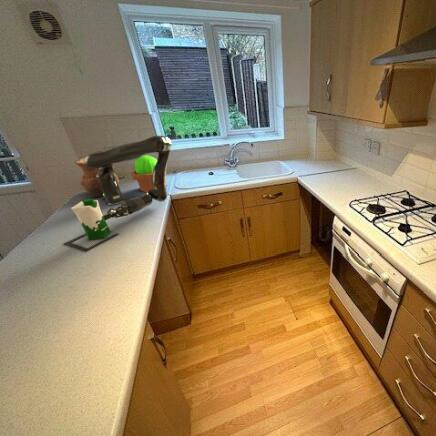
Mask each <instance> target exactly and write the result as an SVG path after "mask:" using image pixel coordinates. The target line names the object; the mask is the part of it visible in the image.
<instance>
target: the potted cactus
mask: <svg viewBox="0 0 436 436" xmlns="http://www.w3.org/2000/svg"><path fill="white" fill-rule="evenodd" d="M156 162H157V158H155V157H153V156H152V155H149V154H146V155H142V156H141V157H139V158H136V159H135V162H134V167H133V168H134V170H133V171H131V172H130V175H131V178H132V180H134V181H137V184H138V186H139V189H140V191H141V192H144V193H146V192H147V191H148V190H150V189H153V188H156V187H155V186H154V185H153V184H152V174H153V169H154V167H155V164H156ZM166 174H167V171H166ZM165 186H166V187H167V186H168V185H167V181H166V180H165Z"/></svg>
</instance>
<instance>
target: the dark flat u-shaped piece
mask: <svg viewBox="0 0 436 436" xmlns="http://www.w3.org/2000/svg"><path fill="white" fill-rule="evenodd" d="M118 235H119V234H118V233H114V234H112V235H110V236H108V237H107V238H104V239H102V240H101V241H99V242H97V243H95V244H93V245H91V246H89V247H87V248H86V247H84V246H81V245H78V244H75V243H73V242H75V241H77V240H79V239H81V238H84V237H85V236H86V237H87V235H86V233H84V234H82V235H80V236H77V237H75V238H73V239H70V240H69V241H67V242H64V243H63V244H64V245H66V246H68V247H71V248H74V249H77V250H80V251H83V252H88V251H90V250H92V249H94V248H95V247H97V246H99V245H101V244H103V243H105V242H107V241H109V240H110V239H113V238H115V237H117V236H118Z"/></svg>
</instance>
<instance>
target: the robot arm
mask: <svg viewBox="0 0 436 436" xmlns="http://www.w3.org/2000/svg"><path fill="white" fill-rule="evenodd" d="M171 150H172V141H171V139H170V138H169V137H167V136H166V135H153V136H152V135H151V136H150V137H148V138H145V139H143V140H139V141H134V142H128V143H124V144H120V145H117V146H114V147H111V148H109V149H106V150H105V151H103V150H96V151H92V152H90V153H88V154H87V155H85V157H84V158H85V163H86V164H87V165H88V166H89V167H91V168H95V169H98V172H97V174H96V178H97V180H98V182H99V184H100V187H101V189H102V192H103V195H102V196H91V197H89V198H93V199H98V198H102V200H103V201H106V203H107V205H108V206H114V205H115V206H116V205H119V204H121V205H120V206H117V207H115V208H114V207H110V208H109V209H108V210H107V211H106V213H105V214H103V217H104V219H105V221H107V220H109V219H111V218H112V219H114V218H115V219H117V218H121V217H128V216H129V215H133V214H134V213H137V212H139V211H141V210H143V209H144V208H147V207H149V206H151V205H152V204H153V203H154V201H157V202H160V203H162V202H165V201H166V200H167V198H168V191H167V185H166V186H165V181H166V175H167V173H166V172H167V166H168V162H169V159H170V158H169V157H170V154H171ZM154 153H157V158H156V160H157V162H156V164H155V167H154V169H153V174H152V184H153V185H154V186H155V187H156V188H153V189H150V190H148V191H147V192H144V193H143V194H141V195H139V196H136V197H133V198H130V199H128V200H125V198H124V196H123V194H122V191H121V188H120V186H119V184H118V183H117V181H116V178H115V176H114V174H115V168H114V169H113V166H112V163H113V164H118V163H123V162H128V161H133V160H137V159H138V158H139V157H142V156H145V155H148V154H154ZM153 200H154V201H153Z"/></svg>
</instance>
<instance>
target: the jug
mask: <svg viewBox="0 0 436 436" xmlns="http://www.w3.org/2000/svg"><path fill="white" fill-rule="evenodd" d="M74 163H75V164H76V165H77V166H78V167H79V168H81V170H82V172H83V175H82V176H81V179H80V186H81V188H82V189H83V190H84V191H85V192H86V193H87V194H90V195H91V196H93V197H97V196H104V195H103V192H102V189H101V187H100V184H99V182H98V180H97V178H96V174H97V172H98V169H95V168H91V167H89V166H88V165H87V164H86V163H85V157H82V158H79V159H77V160H75V162H74ZM112 166H113V169H114V170H115V165H114V163H112ZM114 176H115V178H116V181H117V183H118V185H119V184H120V180H119V179H120V178H119V176H118V175H117V174H116V173H114Z"/></svg>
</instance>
